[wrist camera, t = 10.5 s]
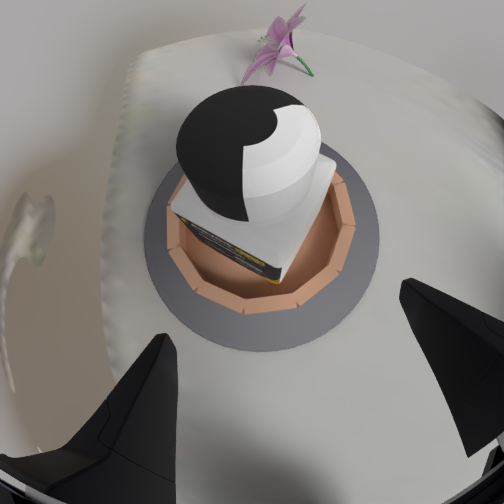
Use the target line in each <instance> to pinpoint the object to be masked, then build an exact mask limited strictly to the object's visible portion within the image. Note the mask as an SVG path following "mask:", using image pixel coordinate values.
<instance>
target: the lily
mask: <svg viewBox="0 0 504 504" xmlns="http://www.w3.org/2000/svg"><path fill="white" fill-rule="evenodd" d="M305 5H306V4H305ZM305 5H303V6H302V7H301V8H300V9H298V10H297V11H296V12H295V13H294V14H293V15H292V16H291V18H290V19H289V20H288V22H287V23H286V22H285V20H284V19H283V18H281V17H277V18H276V19H275V20H274V21H273V23H272V24H271V26H270V27H269V29H268V31H267V34H266V36H265V39H264V38H262V37H261V39H264V40H265V42H266V45H265V46H264V47H263V48H262V49H261V50H260V51H259V52H258V54H257V55H256V57H255V59H254V62H253V63H252V65H251V66H250V67H249V69H248V70H247V72H246V74H245V76H244V78H243V81H242V83H241V86H243V85H244V83H245V82H246V81H247V79H248V78H249V77H250V76H251V74H252V73H253V72H254V71H255V70H256V69H258V68H259V67H260V66H261V65H263V64H264V63H266V62H268V61H269V60H272V59H274V60H273V61H271V62H269V63H268V64H266V65H265V71H266V73H267V74H268V75H269V76H271V74H272V72H273V69H274V66H275V63H276V60H278V59H281V58H284V57H288V56H294V57H296V58H297V59H298V60H299V61H300V62H301V63H302V64H303V65H304V66H305V68H306V69H307V70H308V72H309V73H310V75H311V76H312V77H313V76H314V75H313V73H312V72H311V71H310V69H309V68H308V66H307V65H306V64H305V63H304V62H303V61H302V59H301V58H299V57H298V56H297V55H296V54H295V52H294V49H293V42H292V30H294V29H295V28H296V27H297V26H298V25H300V24H301V23H302V22H303V21H304V20H305V19H306V18H305V17H303V16H301V17H298V15H299V14H300V12H301V11H302V9H303V8H304V7H305ZM258 41H263V40H258Z"/></svg>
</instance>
